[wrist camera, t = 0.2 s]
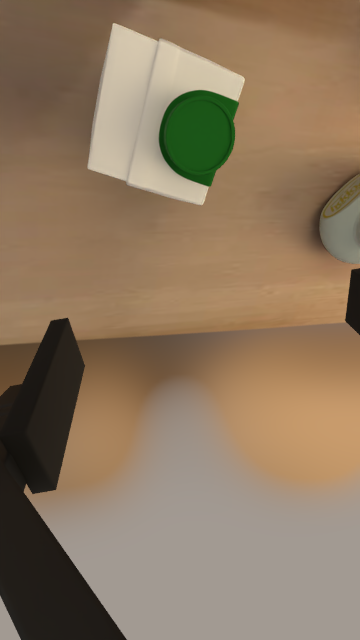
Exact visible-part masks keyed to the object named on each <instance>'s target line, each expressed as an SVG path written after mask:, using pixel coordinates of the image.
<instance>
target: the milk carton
mask: <svg viewBox="0 0 360 640" xmlns="http://www.w3.org/2000/svg"><path fill="white" fill-rule="evenodd" d="M244 81H245V79H244V77H243V76H241V75H238V74H236V73H234V72H232V71H230V70H228V69H226V68H224V67H223V66H221V65H219V64H217V63H215V62H213V61H211V60H208V59H206V58H204V57H202V56H199V55H197V54H195V53H192V52H190V51H188V50H186V49H183V48H181V47H179V46H178V45H176V44H174V43H171V42H169V41H167V40H164V39H162V38H160V39H159V42H158V41H156V40H154V39H151V38H149V37H147V36H144V35H142V34H140V33H137V32H135V31H132V30H130V29H128V28H125V27H123V26H121V25H118V24H116V23H113V26H112V31H111V35H110V39H109V44H108V48H107V53H106V57H105V61H104V65H103V70H102V74H101V78H100V84H99V90H98V96H97V101H96V107H95V113H94V119H93V124H92V133H91V142H90V151H89V160H88V169H90V170H93V171H95V172H99V173H102V174H105V175H108V176H111V177H114V178H117V179H120V180H124V181H127V182H126V185H128V186H131V187H135V188H138V189H142V190H146V191H149V192H152V193H156V194H159V195H162V196H165V197H169V198H172V199H176V200H180V201H184V202H189V203H193V204H197V205H203V203H204V200H205V197H206V194H207V191H208V188H209V186H211V184H212V181H213V178H214V175H215V172H216V170H217V169H218V168H220V167H221V166H222V165H223V164H224V163H225V162H226V160H227V159H228V157H229V156H230V154H231V152H232V149H233V146H234V141H235V127H234V122H233V119H234V116H235V113H236V111H237V108H238V105H239V103H238V99H239V96H240V93H241V90H242V87H243V84H244Z"/></svg>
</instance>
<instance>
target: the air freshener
mask: <svg viewBox="0 0 360 640" xmlns="http://www.w3.org/2000/svg"><path fill="white" fill-rule="evenodd" d="M319 230H320V237H321V240H322V243H323V245H324V246H325V248H326V250H327V251H328V252H329V253H330V254H331V255H332V256H334V257H335V258H337V259H338V260H341V261H343V262H347V263H351V264H360V174H358V175H357V176H355V177H354V178H352V179H351V180H350V181H349V182H347V183H346V184H345V185H344V186H343V187H342V188H341V189H339V190H338V191H337V192H336V193H335V195H334V196H333V197H332V198H331V199H330V200H329V201H328V203H327V204H326V206H325V207H324V209H323V211H322V213H321V217H320V223H319Z"/></svg>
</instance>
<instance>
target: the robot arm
mask: <svg viewBox="0 0 360 640" xmlns="http://www.w3.org/2000/svg"><path fill="white" fill-rule="evenodd" d="M345 321H346V322H347V323H348V324H349V325H350V326H351V327H352V328H353V329H354V330H355V331H356V332H357V333H358V334H359V335H360V268H359V269H353V270H351V278H350V287H349V295H348V303H347V311H346V319H345ZM84 367H85V365H84V362H83V359H82V356H81V353H80V351H79V348H78V345H77V342H76V339H75V336H74V334H73V331H72V328H71V325H70V322H69V319H68V318H64V319H58V320H53V321H51V322H50V324H49V327H48V329H47V331H46V333H45V335H44V337H43V340H42V342H41V344H40V346H39V348H38V351H37V353H36V355H35V357H34V359H33V362H32V364H31V366H30V368H29V371H28V372H27V375H26V377H25V379H24V381H23V383H22V384H20V385H14V386H10V387H9V388H8V389H7V390H6V391H5V392H4V393H3V394H2V395H1V396H0V596H1V598H2V600H3V602H4V604H5V606H6V609H7V611H8V613H9V615H10V617H11V619H12V621H13V623H14V626H15V628H16V630H17V632H18V634H19V636H20V638H21V640H127V639H126V638H125V637H124V635H123V634H122V632H121V631H120V630H119V628H118V627H117V625H116V624H115V622H114V621H113V619H112V618H111V617H110V615H109V614H108V612H107V611H106V609H105V608H104V606H103V605H102V604H101V602H100V601H99V600H98V598H97V596H96V595H95V594H94V592H93V591H92V589H91V588H90V587H89V585H88V584H87V582H86V581H85V579H84V578H83V576H82V575H81V574H80V572H79V571H78V569H77V568H76V566H75V565H74V564H73V562H72V561H71V559H70V558H69V556H68V555H67V554H66V552H65V551H64V549H63V548H62V546H61V545H60V544H59V542H58V541H57V539H56V538H55V536H54V535H53V534H52V532H51V531H50V529H49V528H48V526H47V525H46V524H45V522H44V521H43V519H42V518H41V516H40V515H39V514H38V512H37V511H36V509H35V508H34V506H33V505H32V504H31V502H30V501H29V499H28V498H27V496H26V495H25V494H24V488H25V485H26V484H27V485H28V487H29V488H30V490H31V492H32V494H35V493H40V492H47V491H52V490H56V487H57V483H58V478H59V474H60V470H61V466H62V462H63V457H64V453H65V449H66V444H67V440H68V436H69V431H70V427H71V423H72V418H73V414H74V409H75V406H76V402H77V397H78V393H79V389H80V384H81V380H82V376H83V371H84Z"/></svg>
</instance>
